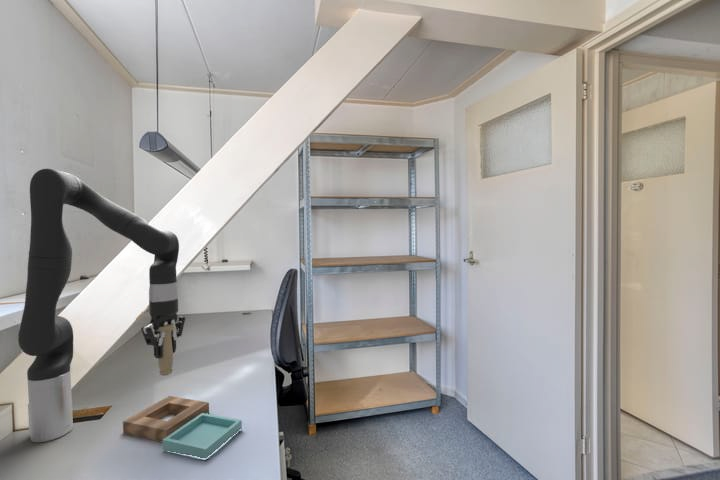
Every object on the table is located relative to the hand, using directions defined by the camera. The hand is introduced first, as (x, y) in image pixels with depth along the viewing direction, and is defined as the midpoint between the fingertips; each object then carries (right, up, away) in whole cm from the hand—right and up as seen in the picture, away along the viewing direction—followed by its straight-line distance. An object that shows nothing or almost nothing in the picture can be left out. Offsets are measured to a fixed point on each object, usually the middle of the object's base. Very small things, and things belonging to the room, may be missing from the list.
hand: (165, 354), depth 105 cm
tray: (+15, -21, -9) cm, 27 cm away
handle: (0, -6, 0) cm, 6 cm away
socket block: (0, -21, +1) cm, 21 cm away
